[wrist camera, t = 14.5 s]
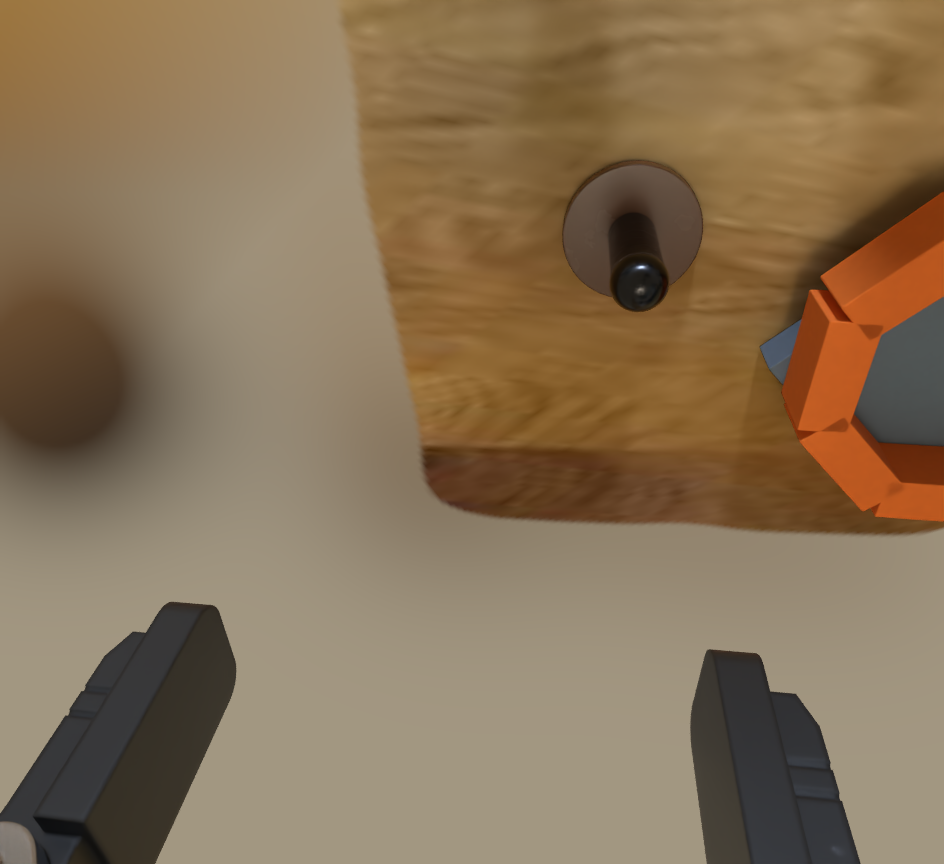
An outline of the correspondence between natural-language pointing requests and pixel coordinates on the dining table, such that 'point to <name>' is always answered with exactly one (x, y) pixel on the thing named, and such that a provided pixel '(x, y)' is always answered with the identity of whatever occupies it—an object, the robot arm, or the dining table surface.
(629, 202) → the peg stand
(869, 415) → the grey flat slab
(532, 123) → the dining table surface
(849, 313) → the ring
